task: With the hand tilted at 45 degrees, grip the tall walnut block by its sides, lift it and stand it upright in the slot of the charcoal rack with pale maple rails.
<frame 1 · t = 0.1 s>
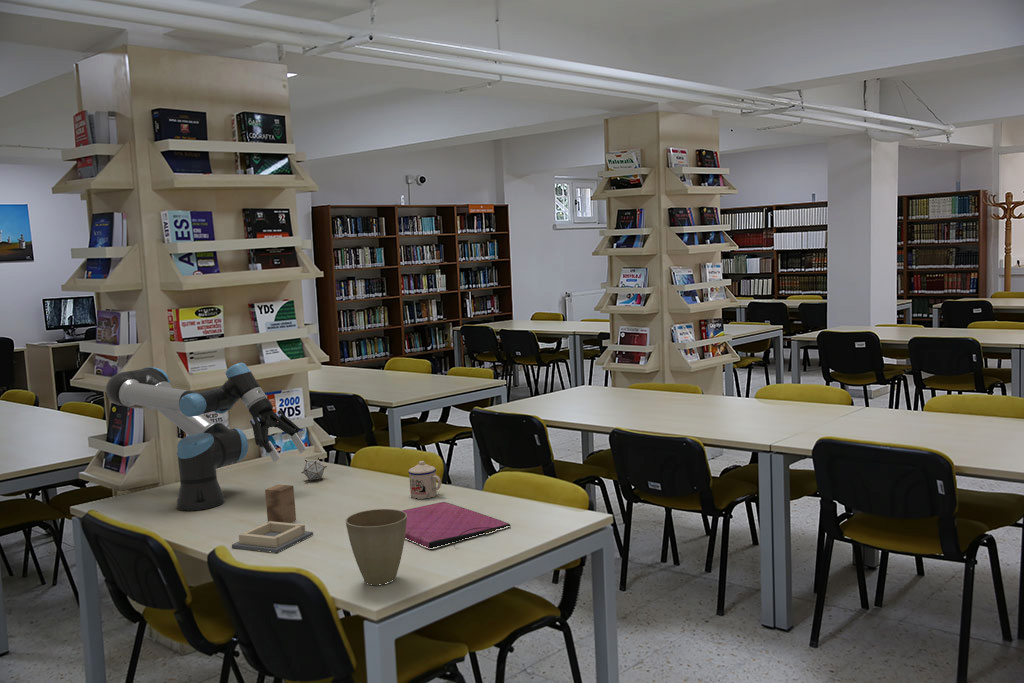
hand: (290, 455, 295), 15 cm above the table, tool tilted 35°, fingers open, 13 cm apart
laptop bag: (440, 529, 257), on the table
teacup with lid: (427, 496, 291), on the table
game die: (314, 480, 322), on the table
walnut block: (282, 522, 270), on the table
plant pot: (381, 581, 216), on the table
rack: (273, 541, 252), on the table
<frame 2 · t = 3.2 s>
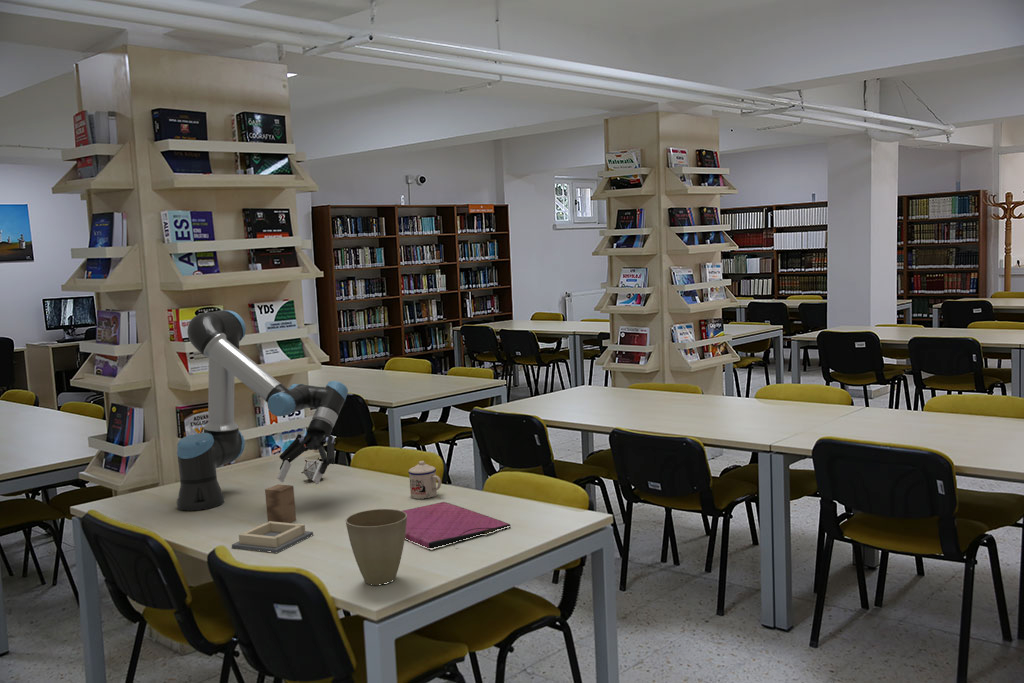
hand: (297, 481, 275), 11 cm above the table, tool tilted 45°, fingers open, 13 cm apart
nothing on the table moved.
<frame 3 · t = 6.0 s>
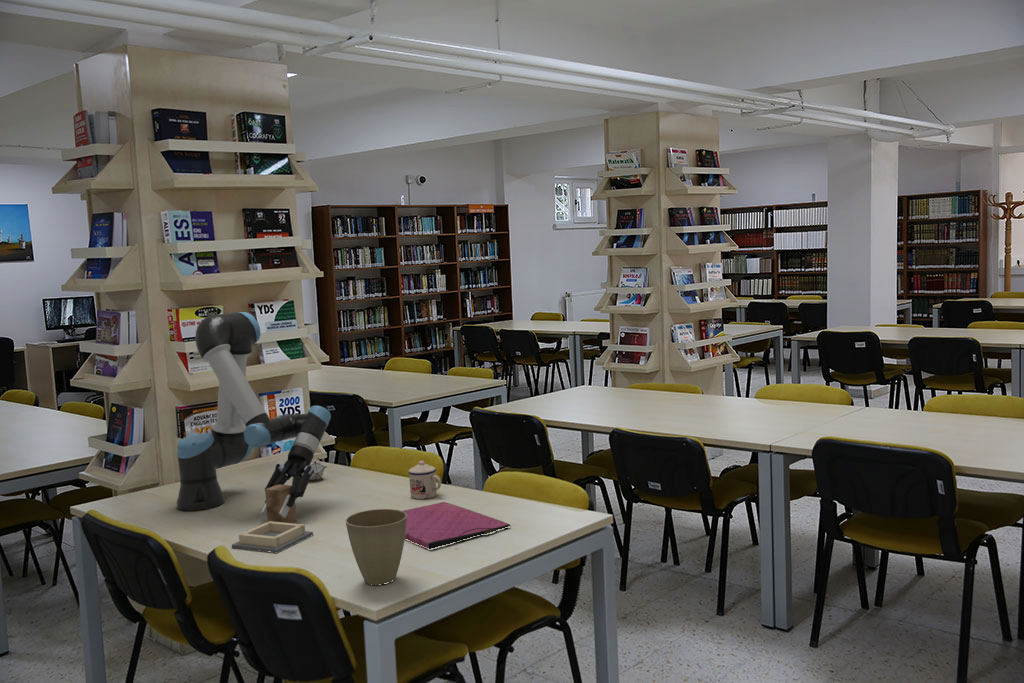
hand: (273, 514, 267), 3 cm above the table, tool tilted 45°, fingers closed on walnut block, 6 cm apart
walnut block: (282, 522, 270), on the table, touching gripper
everything else where it was.
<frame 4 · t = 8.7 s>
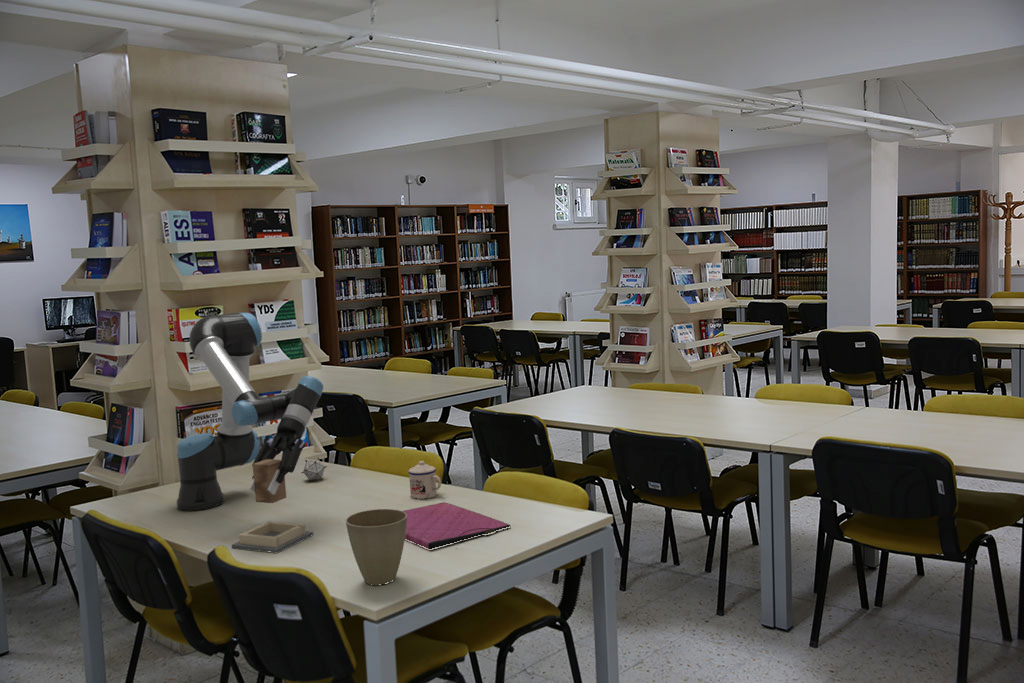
hand: (261, 491, 247), 16 cm above the table, tool tilted 45°, fingers closed on walnut block, 6 cm apart
walnut block: (271, 499, 251), point 12 cm above the table, touching gripper
everything else where it was.
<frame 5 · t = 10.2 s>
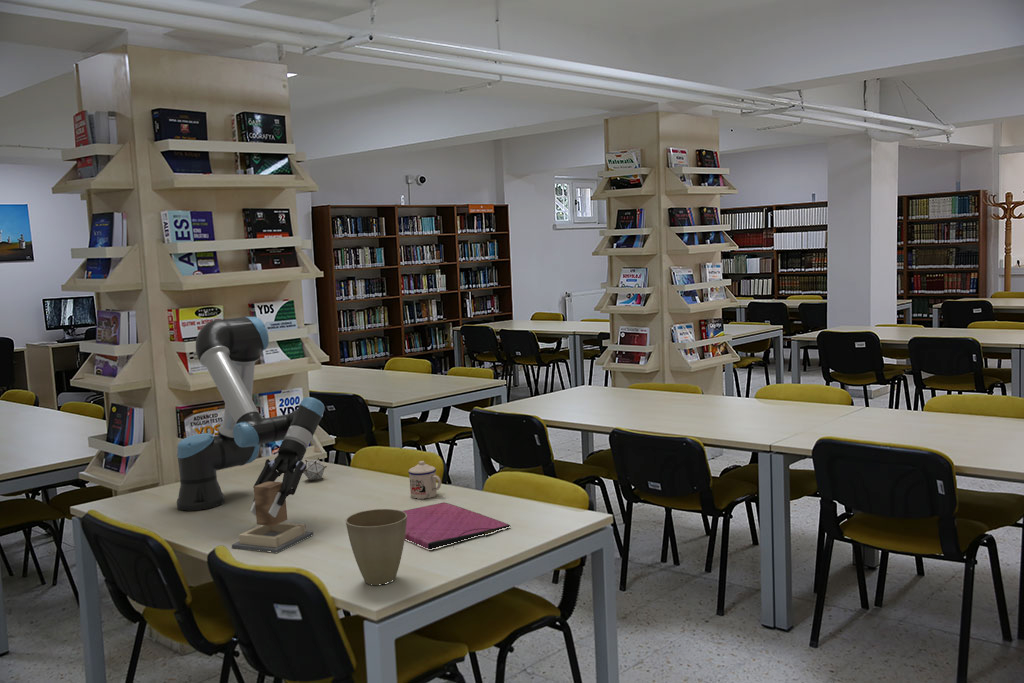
hand: (262, 514, 247), 9 cm above the table, tool tilted 45°, fingers closed on walnut block, 6 cm apart
walnut block: (272, 522, 251), point 6 cm above the table, touching gripper
everything else where it was.
when the fingers open (6 cm above the table, at t = 11.3 s): walnut block drops 1 cm, resting on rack.
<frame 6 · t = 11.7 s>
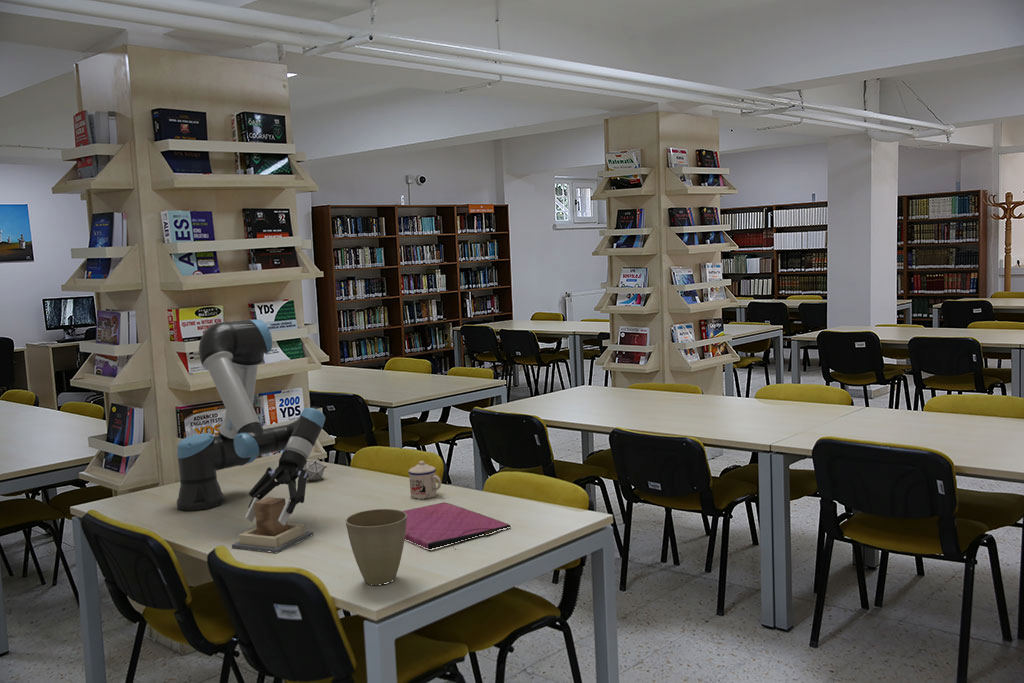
hand: (264, 521, 249), 7 cm above the table, tool tilted 45°, fingers open, 11 cm apart
walnut block: (273, 538, 252), point 1 cm above the table, touching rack
everything else where it was.
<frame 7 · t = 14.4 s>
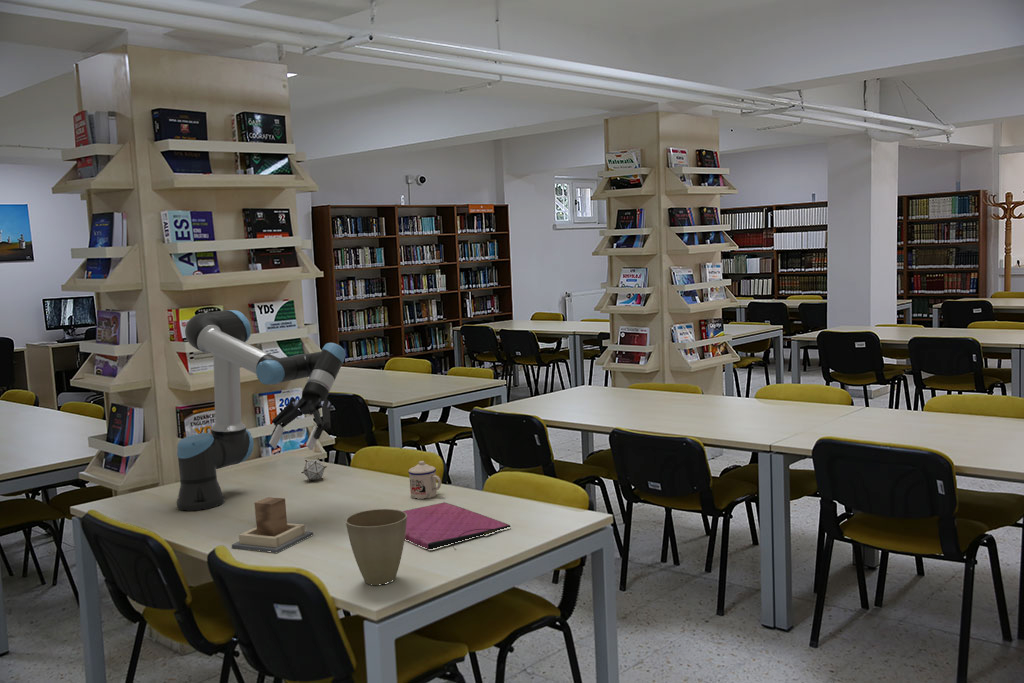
hand: (290, 446, 259), 25 cm above the table, tool tilted 45°, fingers open, 13 cm apart
nothing on the table moved.
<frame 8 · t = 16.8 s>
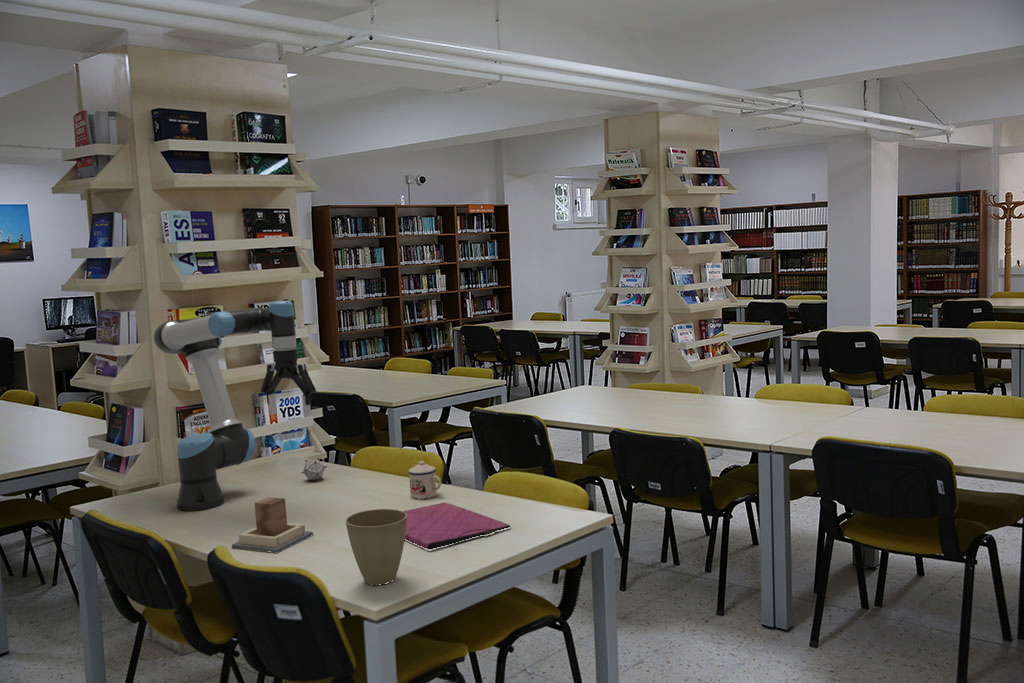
hand: (290, 414, 284), 31 cm above the table, tool pointing down, fingers open, 13 cm apart
nothing on the table moved.
at the end: walnut block inside the target area on the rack (0.1 cm from its centre), point 1.0 cm above the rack's base; walnut block tilted 0°; the gripper is holding nothing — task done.
